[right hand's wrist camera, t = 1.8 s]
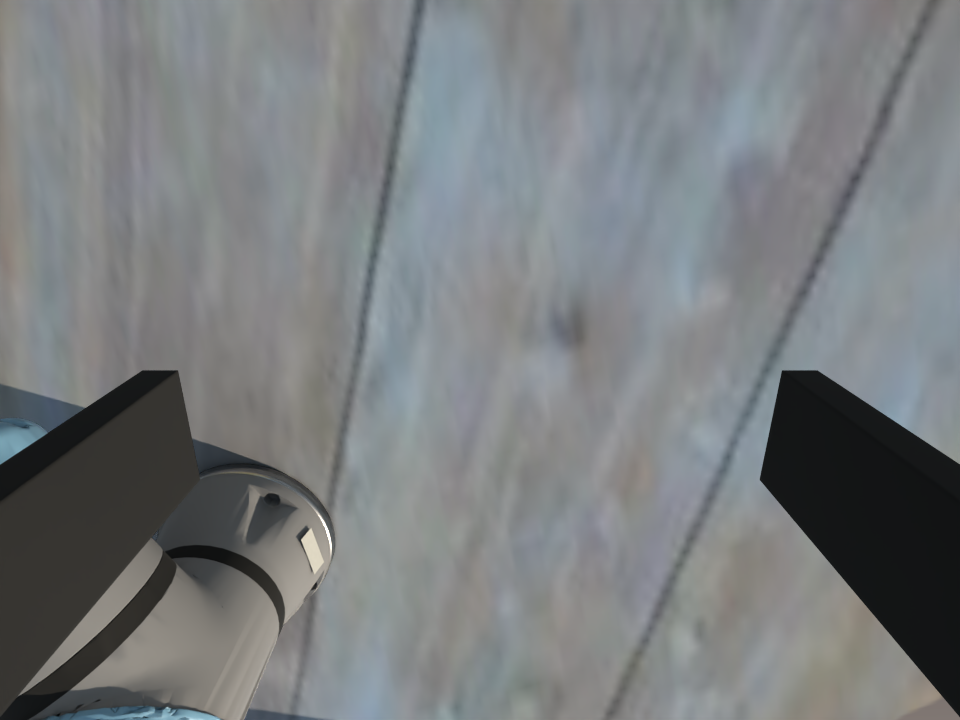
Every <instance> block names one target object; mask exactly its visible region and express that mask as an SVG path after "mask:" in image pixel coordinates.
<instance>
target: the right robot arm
mask: <svg viewBox="0 0 960 720" xmlns="http://www.w3.org/2000/svg"><path fill="white" fill-rule="evenodd" d="M760 481H761V482H762V483H763V484H764V485H765V487H766V488H767V489H768V490H769V491H770V492H771V494H772V495H773V496H774V497H775V498H776V500H777V501H778V502H779V503H780V504H781V505H782V507H783V508H784V509H785V510H786V511H787V513H788V514H789V515H790V516H791V517H792V519H793V520H794V521H795V522H796V523H797V524H798V526H799V527H800V528H801V529H802V530H803V532H804V533H805V534H806V535H807V536H808V538H809V539H810V540H811V541H812V542H813V543H814V545H815V546H816V547H817V548H818V549H819V551H820V552H821V553H822V554H823V555H824V556H825V558H826V559H827V560H828V561H829V562H830V564H831V565H832V566H833V567H834V568H835V570H836V571H837V572H838V573H839V574H840V575H841V577H842V578H843V579H844V580H845V581H846V583H847V584H848V585H849V586H850V587H851V589H852V590H853V591H854V592H855V593H856V594H857V596H858V597H859V598H860V599H861V600H862V602H863V603H864V604H865V605H866V606H867V607H868V609H869V610H870V611H871V612H872V613H873V615H874V616H875V617H876V618H877V619H878V621H879V622H880V623H881V624H882V625H883V626H884V628H885V629H886V630H887V631H888V632H889V634H890V635H891V636H892V637H893V638H894V640H895V641H896V642H897V643H898V644H899V645H900V647H901V648H902V649H903V650H904V651H905V653H906V654H907V655H908V656H909V657H910V658H911V660H912V661H913V662H914V663H915V664H916V666H917V667H918V668H919V669H920V670H921V672H922V673H923V674H924V675H925V676H926V677H927V679H928V680H929V681H930V682H931V683H932V685H933V686H934V687H935V688H936V689H937V691H938V692H939V693H940V694H941V695H942V696H943V698H944V699H945V700H946V701H947V702H948V704H949V705H950V706H951V707H952V708H953V709H954V711H955V712H956V713H957V714H958V715H959V717H960V464H958V463H957V462H955V461H954V460H952V459H951V458H949V457H948V456H946V455H945V454H943V453H942V452H940V451H939V450H937V449H936V448H934V447H933V446H931V445H929V444H928V443H926V442H925V441H923V440H922V439H920V438H919V437H917V436H916V435H914V434H913V433H911V432H910V431H908V430H907V429H905V428H904V427H902V426H901V425H899V424H898V423H896V422H895V421H893V420H892V419H890V418H889V417H887V416H886V415H884V414H883V413H881V412H879V411H878V410H876V409H875V408H873V407H872V406H870V405H869V404H867V403H866V402H864V401H863V400H861V399H860V398H858V397H857V396H855V395H854V394H852V393H851V392H849V391H848V390H846V389H845V388H843V387H842V386H840V385H839V384H837V383H836V382H834V381H832V380H831V379H829V378H828V377H826V376H825V375H823V374H822V373H820V372H819V371H782V373H781V378H780V383H779V388H778V393H777V398H776V403H775V408H774V413H773V417H772V422H771V427H770V432H769V437H768V442H767V447H766V452H765V456H764V461H763V466H762V471H761V476H760ZM157 530H158V538H157V539H156V541H154V539H153V538H152V536H153V535H154V534H155V533H156V532H157ZM334 550H335V533H334V529H333V525H332V522H331V519H330V517H329V515H328V513H327V511H326V509H325V508H324V506H323V505H322V504H321V502H320V501H319V500H318V498H317V497H316V496H315V495H314V494H313V493H312V492H311V491H310V490H309V489H307V488H306V487H305V486H304V485H302V484H301V483H299V482H298V481H296V480H295V479H293V478H291V477H290V476H288V475H286V474H283V473H281V472H279V471H276V470H273V469H270V468H266V467H263V466H257V465H250V464H229V465H223V466H218V467H214V468H211V469H208V470H206V471H204V472H202V473H200V474H199V471H198V466H197V461H196V456H195V452H194V447H193V442H192V437H191V432H190V427H189V422H188V417H187V413H186V408H185V403H184V398H183V393H182V388H181V383H180V378H179V373H178V371H141V372H140V373H138V374H137V375H135V376H134V377H132V378H131V379H129V380H128V381H126V382H124V383H123V384H121V385H120V386H118V387H117V388H115V389H114V390H112V391H111V392H109V393H108V394H106V395H105V396H103V397H102V398H100V399H99V400H97V401H96V402H94V403H93V404H91V405H90V406H88V407H87V408H85V409H84V410H82V411H81V412H79V413H77V414H76V415H74V416H73V417H71V418H70V419H68V420H67V421H65V422H64V423H62V424H61V425H59V426H58V427H56V428H55V429H53V430H52V431H50V432H49V433H48V432H47V431H46V430H45V429H43V428H42V427H41V426H40V425H38V424H36V423H34V422H32V421H29V420H26V419H21V418H4V419H0V720H244V719H245V716H246V714H247V711H248V709H249V706H250V704H251V701H252V699H253V697H254V694H255V692H256V689H257V687H258V685H259V682H260V680H261V677H262V675H263V673H264V670H265V668H266V665H267V663H268V661H269V658H270V656H271V653H272V651H273V649H274V646H275V644H276V641H277V639H278V636H279V634H280V632H281V629H282V627H283V625H284V624H285V623H286V622H287V621H288V620H289V619H290V618H291V617H292V616H293V615H294V613H295V612H296V611H297V610H298V609H299V608H300V606H301V605H302V603H304V602H305V601H306V600H307V599H308V598H309V597H310V596H311V595H312V594H313V593H314V592H315V591H316V590H317V588H318V587H319V586H320V584H321V582H322V581H323V580H324V578H325V576H326V574H327V572H328V569H329V566H330V564H331V561H332V558H333V555H334Z"/></svg>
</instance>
